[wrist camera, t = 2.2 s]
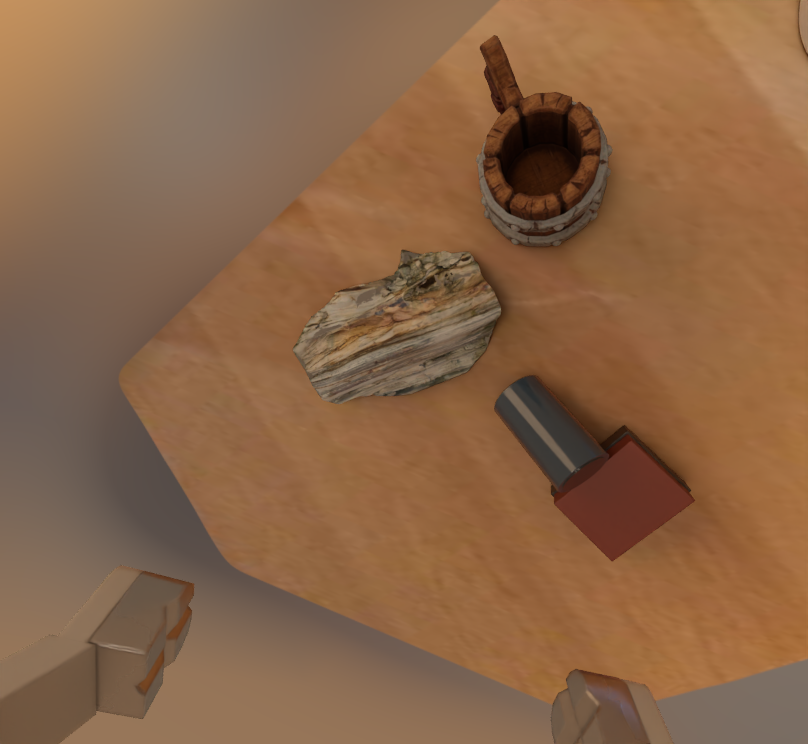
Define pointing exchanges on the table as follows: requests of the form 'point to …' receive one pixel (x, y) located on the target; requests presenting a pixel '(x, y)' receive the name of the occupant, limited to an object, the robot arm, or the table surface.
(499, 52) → the mug
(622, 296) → the table surface
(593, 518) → the notebooks
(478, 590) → the table surface
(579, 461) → the cup
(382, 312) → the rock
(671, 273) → the table surface
